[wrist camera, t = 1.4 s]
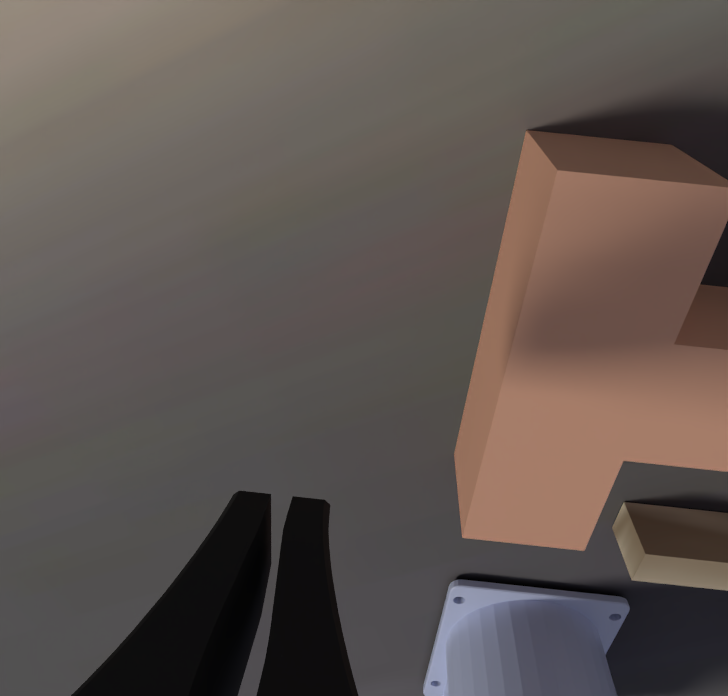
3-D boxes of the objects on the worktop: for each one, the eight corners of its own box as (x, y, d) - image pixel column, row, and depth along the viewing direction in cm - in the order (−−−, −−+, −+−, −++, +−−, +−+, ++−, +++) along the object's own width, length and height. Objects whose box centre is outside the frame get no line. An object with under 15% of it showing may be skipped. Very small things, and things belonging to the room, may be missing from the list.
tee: (766, 487, 22) (829, 577, 19) (454, 454, 23) (462, 537, 19) (964, 174, 16) (1112, 226, 13) (526, 129, 16) (557, 170, 13)
